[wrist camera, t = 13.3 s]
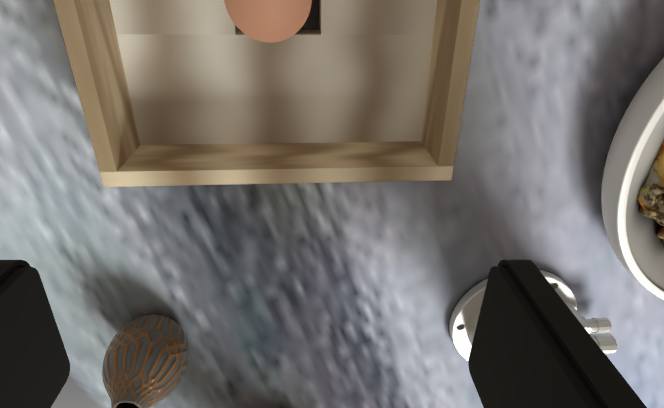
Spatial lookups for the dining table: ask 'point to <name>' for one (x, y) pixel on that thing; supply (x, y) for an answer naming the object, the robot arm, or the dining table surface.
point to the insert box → (270, 91)
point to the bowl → (638, 186)
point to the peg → (269, 17)
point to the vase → (145, 361)
